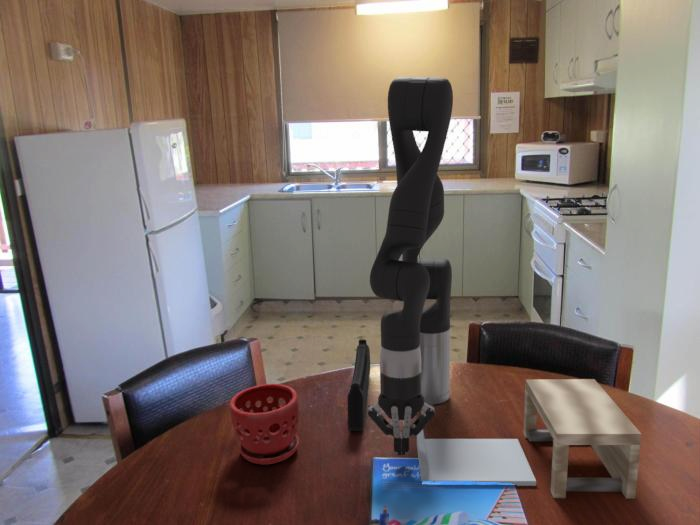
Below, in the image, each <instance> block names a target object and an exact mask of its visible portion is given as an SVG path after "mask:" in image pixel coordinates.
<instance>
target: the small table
mask: <svg viewBox="0 0 700 525" xmlns="http://www.w3.org/2000/svg"><path fill="white" fill-rule="evenodd" d="M523 411H524V413H523V432H522V433H523V436H524V438H525V439H528V441H529V442H552V459H551V476H550V479H551V480H550V493H551V495H552V498H553V499H566V498H567V492H615V493H616V492H621V493H622V495H623V496H624V497H625V499H628V500H629V499H633V500H634V499H636V496H637V485H638V474H639V466H640V453H641V445H642V444H641V443H642V433H641V432H640V430H639V429H638V428H637V427H636V426H635V425H634V424H633V422H632V421H631V420H630V419H629V417H628V416H627V415H626V414H625V413H624V412H623V411H622V410H621V408H620V407H619V405H617V403H616V402H615V401H614V400H613V399H612V398H611V396H609V394H608V393H607V392H606V390H604V388H603V387H602V386H601V385H600V383H598V382H597V380H596V379H595V378H581V379H580V378H579V379H578V378H571V379H569V378H567V379H561V378H559V379H557V378H556V379H555V378H554V379H549V378H548V379H547V378H546V379H541V378H540V379H539V378H538V379H525V386H524V408H523ZM537 413H538V414H539V416H540V418H541V419H542V421H543V423H544V425H545V427H546V429H537ZM570 446H590V447H591V448H592V449H593V451H594V453H595V454H596V455H597V457H598V458H599V459H600V460H599V461H601V463H602V464H603V466H604V467H605V469H606V471H607V472H608V474H609V476H611V477H568V467H569V466H568V465H569V464H568V463H569V452H570Z"/></svg>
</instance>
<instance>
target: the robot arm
mask: <svg viewBox="0 0 700 525" xmlns="http://www.w3.org/2000/svg"><path fill="white" fill-rule="evenodd" d="M453 94H454V92H453V88H452V84H451V82H450V80H449V79H448V78H445V77H431V76H429V77H428V76H427V77H426V76H400V77H396V78H394V79H393V80H392V81H391V83H390V84H389V87H388V92H387V113H388V115H387V116H388V122H389V123H388V124H389V128H390V134H391V140H392V146H393V153H394V158H395V160H394V161H395V169H396V187H395V189H394V190H393V193H392V196H391V199H390V202H389V208H388V214H387V222H386V229H385V235H384V237H383V240H382V242H381V245H380V247H379V249H378V252H377V255H376V257H375V259H374V262H373V264H372V267H371V270H370V273H369V286H370V289H371V292H373V294H374V295H375V296H376V297H378V298H381V299H385V300H386V299H387V300H391V301H392V300H393V301H399V302H403V307H402V309H393V310H390V311H386V312H385V313H384V314H382V316H381V318H380V353H379V379H380V380H379V381H380V385H379V386H380V393H379V395H378V398H377V402H375V403H374V404H369V405H368V408H367V416H368V417H369V418H370V420H372V422H374V423H375V425H376V426H377V427H378V428H379V430H381V431H382V433H383V434H384V435H385V436H392V438H393V451H394V453H397V456H406V453H409V451H410V437H411V436H417V435H418V434H419V433H420V432H421V430H422V429H423V430H424V428H425V427H426V426H427V425H428V424H429V423H430V421H431V420H432V419H433V418H434V417H435V416H436V411H435V407H434V405H440V404H444V403H446V402H447V401H448V400H449V399H450V389H451V387H450V382H451V381H450V380H451V377H450V376H451V374H450V372H451V371H450V370H451V369H450V368H451V297H452V295H451V294H452V282H453V280H452V279H453V273H452V272H453V270H452V269H453V268H452V264H451V262H450V260H448V259H447V258H437V257H436V258H433V257H432V258H429V257H428V258H427V257H425V258H424V257H423V258H422V257H421V258H420V257H418V256H419V255H420V252H421V251H422V249H423V247H424V245H426V243H427V241H428V240H430V238H431V237H432V235H433V234H434V233H435V231H436V230H437V229H438V228H439V227H440V225H441V222H442V221H443V219H444V217H445V216H444V215H445V191H444V189H445V188H444V184H443V182H442V180H441V178H440V176H439V175H438V171H439V168H440V165H441V160H442V156H443V152H444V148H445V143H446V141H447V136H448V132H449V127H450V122H451V118H452V115H453V114H452V112H453V103H454V95H453ZM414 132H427V137H426V140H425V144H424V146H423V148H422V150H421V149H419V146H418V144H417V141H416V138H415V134H414ZM401 257H402V260H400V258H401ZM426 300H436V301H435V302H434V303H432V304H431V305H428V306H427V307H425V305H426V304H425V303H426ZM382 411H383V412H384V414H385V415H386V416H387V418H389V419H390V420H392V422H391V423H392V424H390V423H389V421H388V419H386V418H385V417H384V416H383V414H382ZM419 412H420V413H421V414H420V415H419V416H418V417H417V418H416V419H415V420H414V421H413V423H412V419H414V418H415V417H416V416H417V414H418V413H419ZM400 421H402V429H401V426H400ZM411 423H412V424H411Z"/></svg>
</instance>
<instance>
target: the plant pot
mask: <svg viewBox="0 0 700 525" xmlns="http://www.w3.org/2000/svg"><path fill="white" fill-rule="evenodd" d="M268 398H272V401H269V400H268ZM298 398H299V397H298V394H297V391H296V390H295V389H294V388H293V387H291V386H289V385H286V384H279V383H264V384H258V385H255V386H251V387H248V388H246V389H243V390H241V391H239V392H238V393H236V394H235V395H234V396H233V397H232V398H231V400H230V402H229V410H230V417H231V422H232V426H233V429H234V434H235V436H236V437H237V438H236V439H237V440H238V441H239V443H240V445H239V452H240V454H241V456H242V458H244V459H245V460H247V462H250V463H252V464H257V465H265V466H268V465H272V464H277V463H280V462H283V461H285V460H287V459H289V458H290V457H291V456H293V455H294V453H295V452H296V450H298V447H299V445H300V439H299V436H298V435H297V432H298V431H297V430H298V426H299V415H300V414H299V413H300V410H299V399H298ZM280 399H282V400H284V402H285V405H284V406H282V405H281V404H280V403H279V400H280ZM258 401H259V402H260V405H258V406H257V405H256V403H257V402H258ZM247 402H250V403H249V405H247ZM265 407H266V408H267V409H266V410H265V409H264V408H265ZM273 408H276V409H274V410H273ZM240 409H242V410H240ZM251 411H252V412H251Z"/></svg>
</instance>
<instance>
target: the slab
mask: <svg viewBox="0 0 700 525" xmlns="http://www.w3.org/2000/svg"><path fill="white" fill-rule="evenodd" d="M416 449H417V456H418V458H419V459H418V464H419V465H420V467H419V474H420V473H421V476H420V482H421V481H422V482H423V481H433V482H435V481H453V482H454V481H472V482H473V481H475V482H477V481H478V482H497V483H498V482H500V483H510V484H511V483H512V484H515V485H517V486H516V487H520V486H522V487H523V486H525V487H529V486H530V487H531V486H532V487H536V486H537V480H536V477H535V475H534V473H533V470H532V468H531V466H530V463H529V461H528V459H527V456H526V454H525V452H524V450H523V447H522V446H521V443H520V441H519V439H518V438H425V432H424V428H423V429H422V430H421V432H420V433H419V434H418V435H416Z"/></svg>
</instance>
